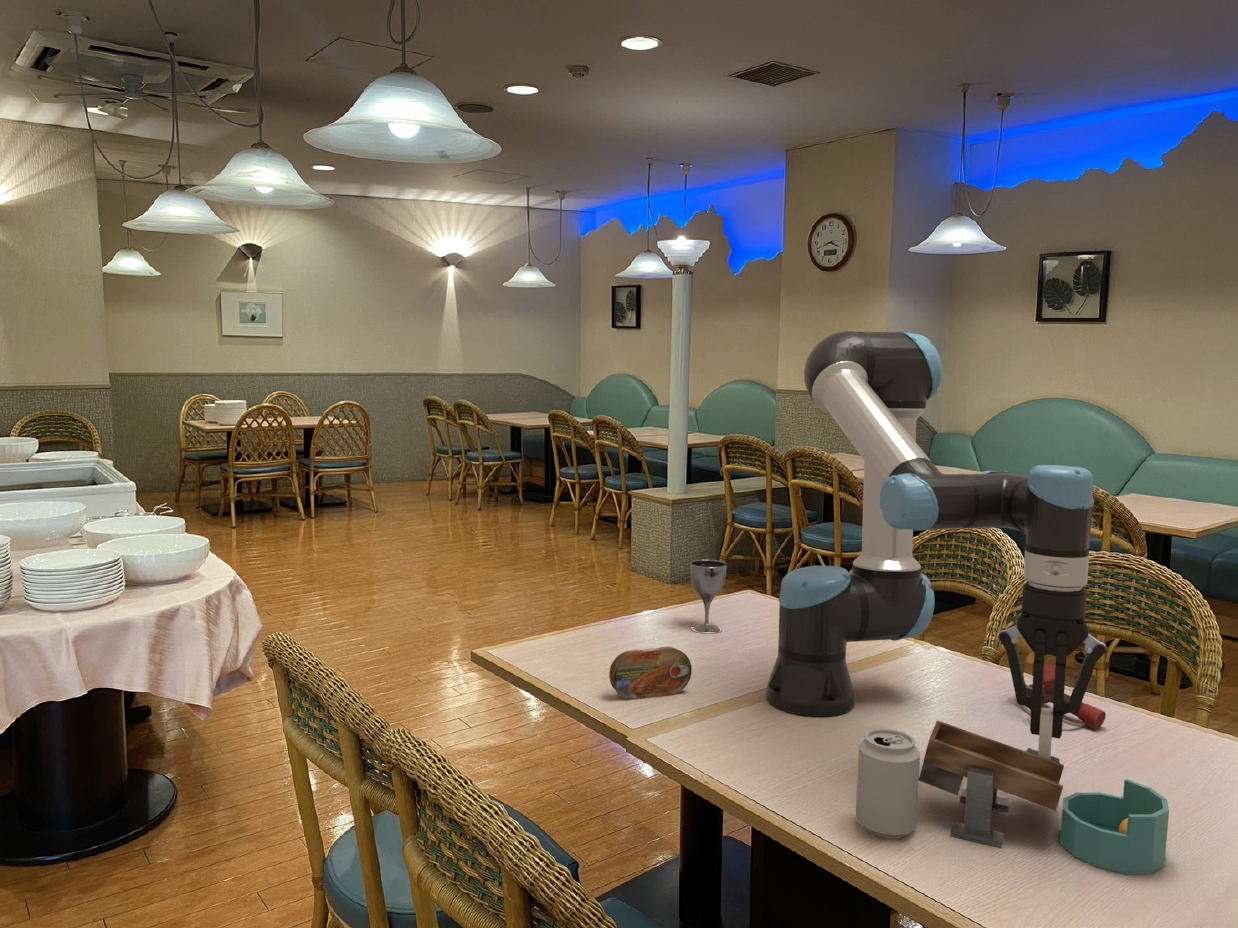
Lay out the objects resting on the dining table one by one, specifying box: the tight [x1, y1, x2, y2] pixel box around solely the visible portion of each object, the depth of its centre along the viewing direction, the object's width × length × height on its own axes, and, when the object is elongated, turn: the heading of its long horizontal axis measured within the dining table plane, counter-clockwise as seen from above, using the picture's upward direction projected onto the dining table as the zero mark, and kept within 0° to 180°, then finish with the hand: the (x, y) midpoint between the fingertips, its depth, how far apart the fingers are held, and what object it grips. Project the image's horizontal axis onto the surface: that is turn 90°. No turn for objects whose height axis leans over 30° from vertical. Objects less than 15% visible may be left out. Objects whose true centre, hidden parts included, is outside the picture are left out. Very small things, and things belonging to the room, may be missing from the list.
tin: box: [608, 646, 693, 701], centre depth 162 cm, size 15×3×8 cm, turn 109°
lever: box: [919, 720, 1065, 812], centre depth 121 cm, size 16×13×6 cm
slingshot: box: [1017, 636, 1107, 731], centre depth 156 cm, size 17×10×15 cm
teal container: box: [1059, 778, 1170, 875], centre depth 112 cm, size 11×11×7 cm
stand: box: [949, 767, 1010, 849], centre depth 119 cm, size 6×13×8 cm, turn 153°
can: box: [855, 728, 921, 839], centre depth 116 cm, size 8×8×12 cm
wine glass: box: [689, 558, 727, 633], centre depth 202 cm, size 8×8×15 cm
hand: (1044, 758), depth 121 cm, fingers closed
